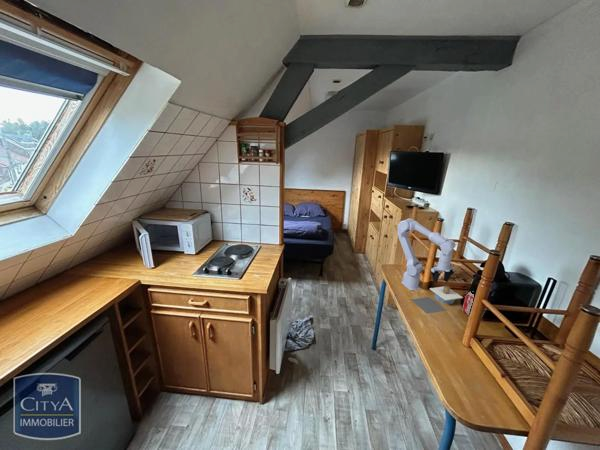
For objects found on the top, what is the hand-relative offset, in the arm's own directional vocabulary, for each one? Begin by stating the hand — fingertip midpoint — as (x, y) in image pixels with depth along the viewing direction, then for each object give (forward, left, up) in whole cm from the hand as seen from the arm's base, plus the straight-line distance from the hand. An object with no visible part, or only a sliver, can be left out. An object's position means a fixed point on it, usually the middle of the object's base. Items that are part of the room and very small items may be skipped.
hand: (440, 281), depth 142 cm
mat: (+6, -11, -10) cm, 16 cm away
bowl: (+3, +3, -10) cm, 11 cm away
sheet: (+3, +3, -6) cm, 8 cm away
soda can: (+17, +6, -11) cm, 21 cm away
